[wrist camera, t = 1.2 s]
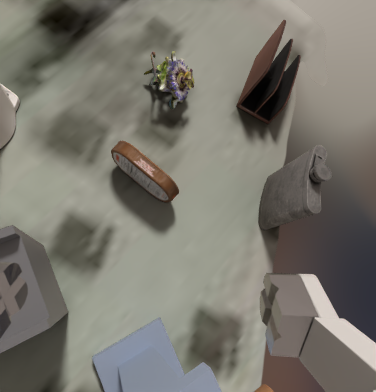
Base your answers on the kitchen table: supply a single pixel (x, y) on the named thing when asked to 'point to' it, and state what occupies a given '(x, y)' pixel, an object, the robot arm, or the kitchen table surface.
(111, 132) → the kitchen table surface
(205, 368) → the shelf post
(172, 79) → the passion flower
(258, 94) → the letter holder
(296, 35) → the kitchen table surface
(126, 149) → the tin
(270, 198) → the flask
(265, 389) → the dowel
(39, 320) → the tray stand
